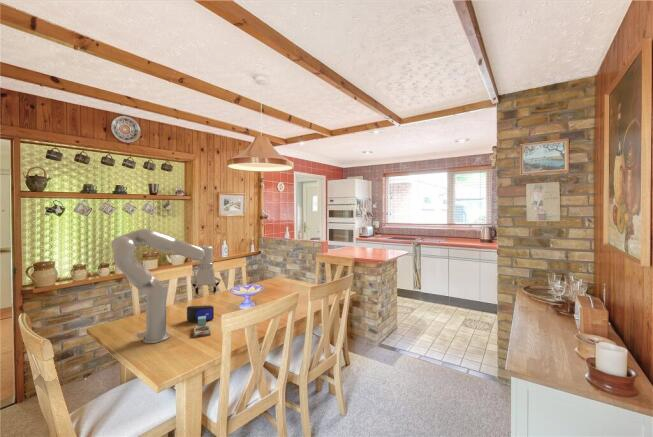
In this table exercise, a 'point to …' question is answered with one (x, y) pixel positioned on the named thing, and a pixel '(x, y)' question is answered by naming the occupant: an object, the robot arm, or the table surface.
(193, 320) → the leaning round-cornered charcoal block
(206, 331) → the block cradle
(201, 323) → the teal block
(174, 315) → the table surface
